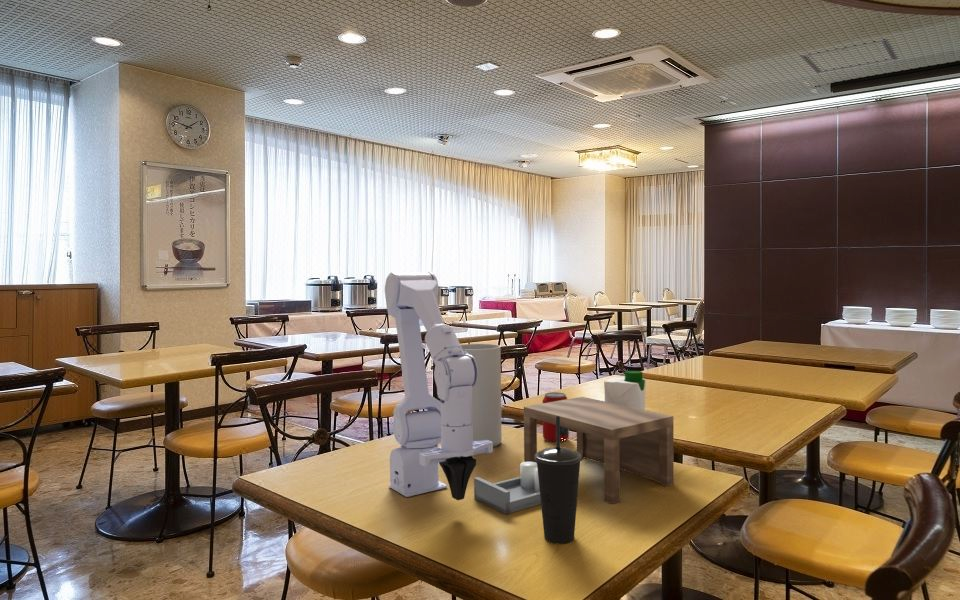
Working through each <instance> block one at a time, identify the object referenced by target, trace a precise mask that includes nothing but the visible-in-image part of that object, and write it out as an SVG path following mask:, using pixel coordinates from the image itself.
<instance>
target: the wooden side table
mask: <svg viewBox="0 0 960 600" xmlns="http://www.w3.org/2000/svg"><path fill="white" fill-rule="evenodd" d="M556 416H560V426H562V427H566V428H569V430H573V431H576V452H578V453H580V454H581V455H582V459H587V460H591V461H594V462H597V463H601V464H603V467H604V469H603V470H604V472H603V473H604V474H603V475H604V478H603V479H604V481H603V482H604V483H603V485H604V490H603V491H604V493H603V494H604V499H603V500H604V502H606V503H609V504H613V505H614V504H616V503H619V502H621V499H620V498H621V496H620V494H621V492H620V491H621V490H620V483H621V482H620V478H621V476H620V470H622V471H625V472H627V473H631V474H634V475H637V476H640V477H643V478H646V479H648V480H653V481H656V482H658V483H659V485H663V486H665V487H669V486H673V485H674V483H675V482H674V477H675V476H674V475H675V473H674V470H675V468H674V460H675V459H674V455H675V454H674V416H673V415H670V414H666V413H665V414H664V413H660V412H657V411H651V410H647V409H645V410H642V409H638V408H633V407H628V406H624V405H619V404H614V403H610V402H605V400H600V399H596V398H590V397H587V396H579V397H574V398H567V399H566V400H560V401H554V402H548V403H543V402H542V403H539V404H532V405H526V406H523V457H524V458H523V460H524V461H523V462H536V463H537V460H536V459H535V454H536V453H537V452H538V434H537V433H538V429H537V427H538V426H537V423H538V421H542V422H543V421H544V422H548V423H552V424H555V425H556Z"/></svg>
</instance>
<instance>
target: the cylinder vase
mask: <svg viewBox="0 0 960 600" xmlns="http://www.w3.org/2000/svg"><path fill="white" fill-rule="evenodd" d="M460 345H461V347H462V349H463V351H466V352H468V354H470V355H472V356H473V357H474V358H475V361H476V364H477V368H478V379H477V383H476V384H475V386H473V387H472V414H473V442H474V441H483V440H488V441H491V442H493V448H494V447H495V448H496V447H497V446H499V445H501V442H502V440H503V438H502V437H503V436H502V435H503V434H502V374H501V372H502V371H501V369H502V367H501V365H502V363H501V362H502V361H501V359H502V358H501V354H502V353H501V345H499V344H491V343H467V344H460Z"/></svg>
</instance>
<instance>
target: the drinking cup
mask: <svg viewBox="0 0 960 600" xmlns="http://www.w3.org/2000/svg"><path fill="white" fill-rule="evenodd" d="M535 459H536V460H537V469H538V479H539V489H540V498H541V504H540V506H541V507H540V508H541V516H542V525H543V526H542V527H543V536H544V540H546V541H547V540H548V541H547V542H549V543H551V542H552V544H556V543H559V545H563V544H568V543H572V542H573V541H574V539H575V531H576V520H577V519H576V517H577V507H578V506H577V505H578V494H579V479H580V469H581V461H582V460H583V458H582V455H581V454H580V453H578V452H577V450H576V451H575V450H573V449H571V448H569V447H564V446H561V442H560V416H556V442H555V446H550V447H546V448H543V449H541V450H539V451H537V453H536V454H535Z"/></svg>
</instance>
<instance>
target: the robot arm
mask: <svg viewBox="0 0 960 600" xmlns="http://www.w3.org/2000/svg"><path fill="white" fill-rule="evenodd" d="M438 294H439V282H438V278H437V276H436V275H435V274H434V273H433V272H432V271H428V272H394V271H392V272H390V273H389V274H388V275H387V276H386V279H385V284H384V295H385V297H384V298H385V305H386V309H387V314H388V316H391V317H393V318H394V320H395V327H396V333H397V334H396V335H397V342H398V350H399V358H400V359H399V360H400V366H401V367H400V368H401V373H402V383H403V390H404V397H403V398H402V399H401V400H400V402H399V403H397V404H396V405H395V407H394V409H393V423H392V429H393V430H392V431H393V435H394V439H395V441H396V442H397V443H398V445H400V446H399V447H395V448H393V449H392V450H391V451H390V456H389V470H390V471H389V479H390V480H389V481H390V482H389V484H388V487H389V488H391V489H392V490H393V491H396V492H397V493H398V494H401V495H402V496H404V497H405V498H408V497H409V498H410V497H414V496H417V495H421V494H424V493H430V492H433V491H437V490H438V491H439V490H442V489H446V488H447V487H448V486H449V490H450V495H451V498H453V499H454V500H456V501H461V500H464V499H465V495H466V492H467V488H468V483H469V481H470V478H471V475H472V473H473V471H474V470H475V468H476V466H477V458H474V457H473V456H475V455H480V454H484V453H487V454H491V453H493V452H494V447H493V442H491V441H488V440H483V441H474V442H473V414H472V387H473V386H475V384H476V383H477V379H478V368H477V364H476V361H475V358H474V357H473V356H472V355H470V354H468V352H466V351H463V349H462V347H461V345H462V344H460V340H459V339H458V337H457V335H456V332H455V331H454V328H453V327H452V326H450V325H449V324H445V322H444V319H443V316H442V312H441V310H440V307H439V304H438V301H437V300H438V296H439V295H438ZM420 321H421V323H422V325H423V327H424V328H425V330H426V333H425V336H424V342H425V345H426V347H427V349H428V351H429V354H430V356H431V360H432V361H433V363H434V366H435V367H434V372H433V377H434V381H435V386H436V394H437V398H438V399H437V398H435V397H434V396H433V395H431V394H430V393H429V385H428V378H427V370H426V363H425V362H426V361H425V354H424V348H423V347H424V346H423V339H422V332H421V326H420V325H421V324H420ZM439 399H440V400H439ZM417 410H418V411H417ZM421 410H422V411H421ZM410 411H412V412H410ZM439 444H440V446H439ZM439 466H440V468H441V469H442V471H443V473H444V475H445V478H446V480H447V482H448V485H447V483H444V482H442V481H440V480H439Z"/></svg>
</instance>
